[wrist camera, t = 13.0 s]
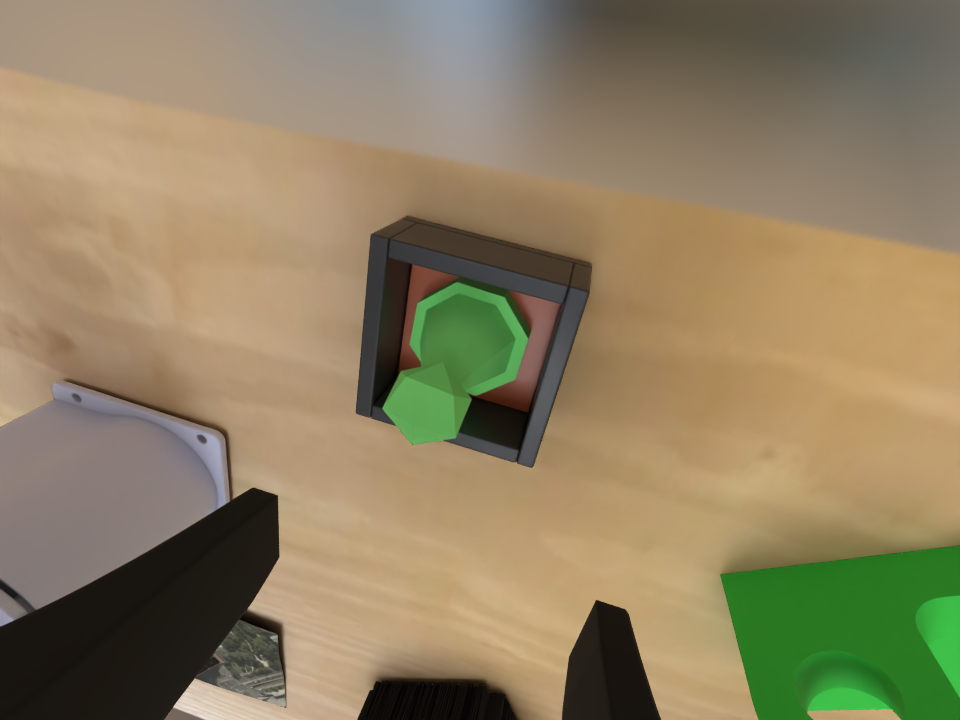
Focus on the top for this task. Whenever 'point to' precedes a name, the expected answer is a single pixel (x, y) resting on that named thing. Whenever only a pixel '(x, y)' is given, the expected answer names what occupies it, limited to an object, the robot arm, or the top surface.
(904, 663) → the mechanical part
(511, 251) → the pad holder
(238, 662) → the eiffel tower figurine
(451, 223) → the top surface
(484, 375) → the game piece
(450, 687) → the cpu cooler
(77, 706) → the robot arm
